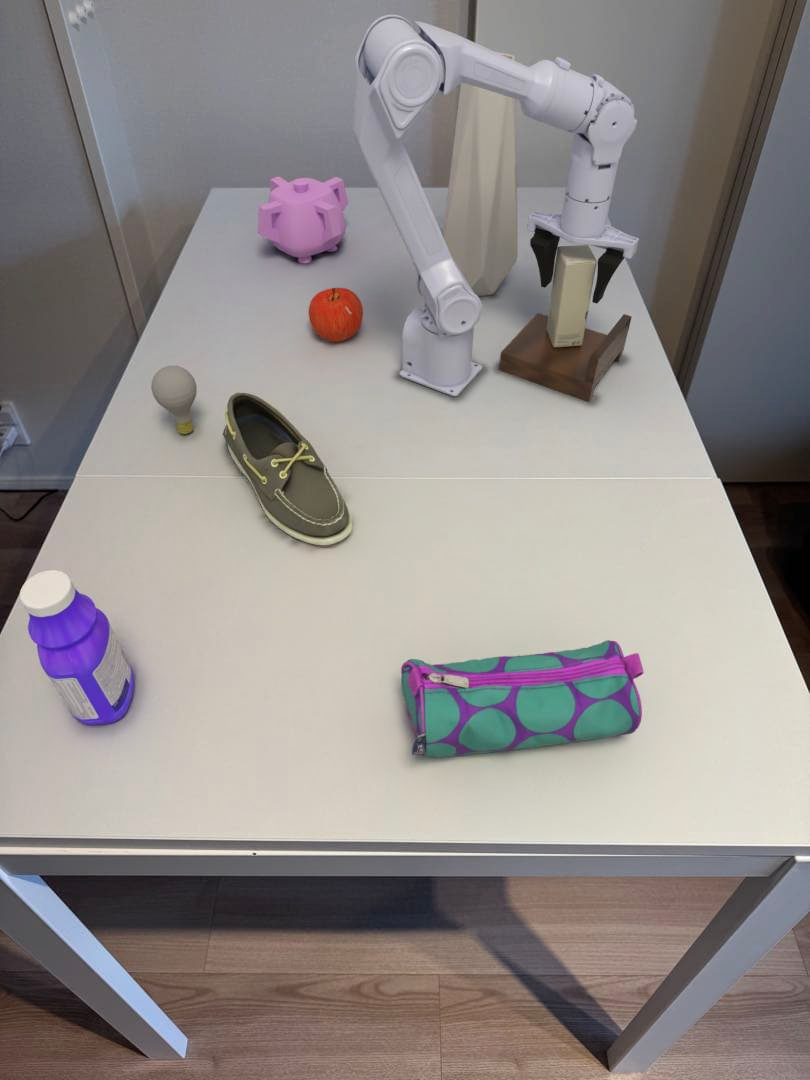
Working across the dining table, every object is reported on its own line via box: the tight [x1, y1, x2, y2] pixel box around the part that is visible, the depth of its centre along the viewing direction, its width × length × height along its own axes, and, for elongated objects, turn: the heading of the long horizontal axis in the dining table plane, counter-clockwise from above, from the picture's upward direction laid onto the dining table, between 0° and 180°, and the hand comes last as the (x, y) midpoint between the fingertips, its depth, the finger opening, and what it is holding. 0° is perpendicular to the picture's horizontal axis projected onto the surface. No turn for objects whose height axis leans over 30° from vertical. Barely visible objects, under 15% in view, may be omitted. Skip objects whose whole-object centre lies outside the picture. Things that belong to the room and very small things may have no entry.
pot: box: [257, 176, 350, 264], centre depth 130 cm, size 18×17×12 cm
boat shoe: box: [222, 392, 354, 546], centre depth 93 cm, size 24×10×7 cm, turn 27°
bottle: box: [19, 569, 135, 726], centre depth 69 cm, size 7×6×17 cm
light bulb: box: [151, 365, 198, 435], centre depth 99 cm, size 6×5×10 cm
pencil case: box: [400, 639, 645, 758], centre depth 70 cm, size 21×9×10 cm, turn 97°
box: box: [547, 244, 598, 347], centre depth 106 cm, size 5×4×13 cm
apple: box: [308, 287, 364, 343], centre depth 114 cm, size 8×8×8 cm
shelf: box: [498, 312, 633, 403], centre depth 109 cm, size 14×12×7 cm
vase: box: [442, 51, 519, 297], centre depth 114 cm, size 12×12×33 cm
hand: (571, 291), depth 106 cm, fingers open, 7 cm apart
